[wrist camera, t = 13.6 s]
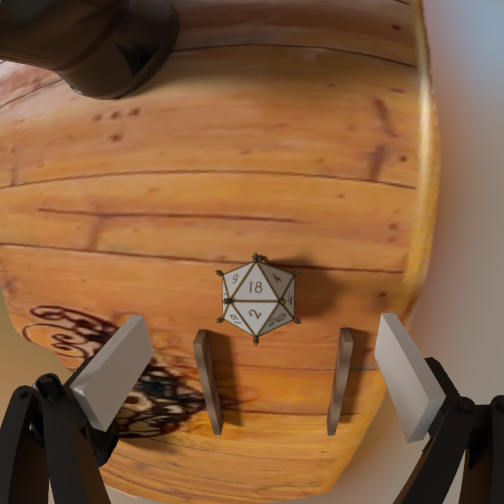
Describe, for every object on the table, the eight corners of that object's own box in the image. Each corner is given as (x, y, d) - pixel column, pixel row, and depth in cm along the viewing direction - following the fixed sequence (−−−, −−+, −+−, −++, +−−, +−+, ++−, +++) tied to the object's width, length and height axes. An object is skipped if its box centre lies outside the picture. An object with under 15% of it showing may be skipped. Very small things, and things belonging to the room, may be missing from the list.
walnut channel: (199, 329, 34) (192, 343, 31) (348, 327, 32) (353, 341, 29) (217, 420, 39) (214, 434, 36) (332, 420, 37) (334, 435, 34)
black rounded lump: (131, 422, 50) (115, 471, 41) (54, 384, 49) (36, 429, 39) (117, 406, 37) (94, 475, 27) (21, 353, 35) (-5, 411, 26)
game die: (272, 256, 34) (326, 251, 25) (272, 326, 33) (325, 343, 24) (199, 255, 30) (234, 249, 21) (200, 333, 29) (235, 359, 21)
